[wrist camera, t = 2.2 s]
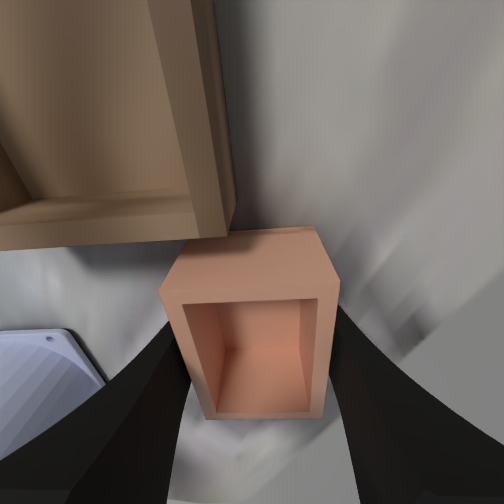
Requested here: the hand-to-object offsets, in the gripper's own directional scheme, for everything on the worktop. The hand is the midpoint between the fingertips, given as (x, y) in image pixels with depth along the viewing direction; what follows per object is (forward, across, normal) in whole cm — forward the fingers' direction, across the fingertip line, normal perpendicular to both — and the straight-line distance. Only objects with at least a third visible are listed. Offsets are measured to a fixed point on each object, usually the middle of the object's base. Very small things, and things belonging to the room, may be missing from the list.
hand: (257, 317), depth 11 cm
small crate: (+1, 0, 0) cm, 1 cm away
